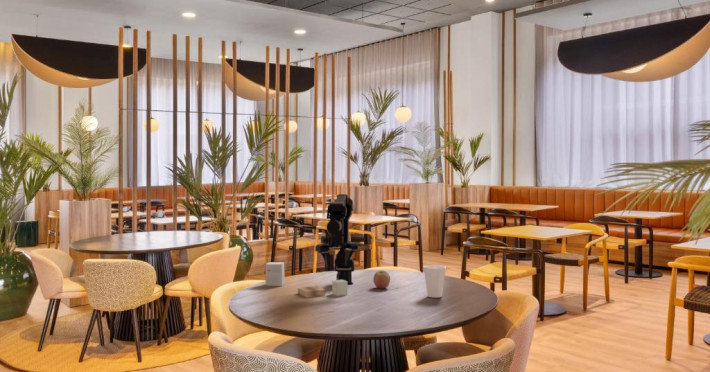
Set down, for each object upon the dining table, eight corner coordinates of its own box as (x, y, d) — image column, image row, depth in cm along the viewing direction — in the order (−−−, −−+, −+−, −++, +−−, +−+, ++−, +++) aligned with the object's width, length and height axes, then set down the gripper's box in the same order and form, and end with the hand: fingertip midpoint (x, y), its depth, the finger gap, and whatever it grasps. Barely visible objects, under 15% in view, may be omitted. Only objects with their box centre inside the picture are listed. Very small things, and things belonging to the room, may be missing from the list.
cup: (449, 295, 255) (449, 265, 255) (442, 300, 246) (442, 269, 246) (427, 293, 259) (427, 264, 259) (419, 298, 250) (419, 267, 250)
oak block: (316, 292, 265) (316, 285, 265) (325, 296, 257) (325, 289, 257) (297, 294, 260) (297, 287, 260) (306, 298, 252) (306, 291, 252)
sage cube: (342, 292, 262) (342, 279, 262) (347, 294, 258) (347, 281, 257) (332, 294, 260) (332, 280, 259) (337, 296, 255) (337, 282, 255)
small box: (284, 284, 282) (284, 262, 282) (282, 286, 277) (282, 264, 277) (268, 283, 283) (268, 261, 283) (265, 286, 278) (265, 263, 277)
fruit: (370, 289, 269) (370, 271, 269) (376, 286, 277) (376, 269, 276) (387, 290, 266) (387, 273, 266) (392, 287, 274) (392, 270, 274)
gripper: (346, 228, 270) (346, 262, 270) (309, 230, 261) (309, 265, 261) (358, 230, 260) (358, 265, 260) (320, 233, 251) (321, 269, 251)
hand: (336, 266), depth 259 cm, fingers open, 9 cm apart
